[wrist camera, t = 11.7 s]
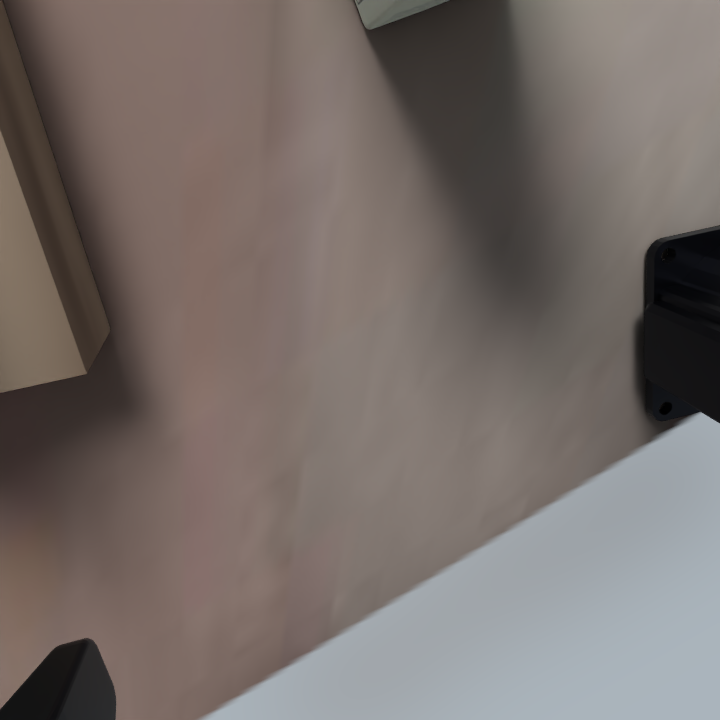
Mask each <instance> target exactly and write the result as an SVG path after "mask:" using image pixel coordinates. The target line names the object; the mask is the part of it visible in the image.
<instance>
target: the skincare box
mask: <svg viewBox="0 0 720 720" xmlns="http://www.w3.org/2000/svg"><path fill="white" fill-rule="evenodd" d="M446 1H449V0H355V3H356V5H357V8H358V10H359V13H360V16H361V19H362V22H363V24H364V26H365V27H366V28H367V29H374V28H377V27H380V26H382V25H385V24H388V23H391V22H394V21H396V20H399V19H402V18H405V17H407V16H410V15H413V14H415V13H418V12H421V11H423V10H426V9H429V8H431V7H434V6H436V5H439V4H441V3H444V2H446Z"/></svg>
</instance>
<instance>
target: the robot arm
mask: <svg viewBox="0 0 720 720" xmlns="http://www.w3.org/2000/svg"><path fill="white" fill-rule="evenodd" d="M665 249H668V254H667V256H666V258H665V259H664V260H662V258H661V256H662V253H663V252H664V250H665ZM644 376H645V377H646V410H647V412H648V414H649V415H651V416H652V417H654V418H655V419H657V420H659V421H666V420H670V419H674V418H678V417H682V416H686V415H690V414H694V413H697V412H702V413H704V414H705V415H707V416H709V417H710V418H712V419H714V420H715V421H717V422H719V423H720V225H719V226H715V227H710V228H705V229H701V230H696V231H692V232H687V233H682V234H678V235H673V236H669V237H664V238H660V239H658V240H656V241H655V242H653V243H652V244H651V246H650V247H649V249H648V253H647V299H646V309H645V312H644ZM664 402H665V404H664V406H663V407H662V408H661V409H660V410H659V408H660V406H661V404H662V403H664ZM115 719H116V695H115V690H114V686H113V683H112V680H111V678H110V676H109V673H108V671H107V669H106V666H105V664H104V661H103V659H102V657H101V654H100V652H99V649H98V647H97V645H96V644H95V642H94V641H93V640H91V639H88V638H84V639H81V640H77V641H73V642H69V643H66V644H62V645H59V646H57V647H56V648H54V649H53V650H52V651H51V652H50V653H49V655H48V656H47V657H46V658H45V659H44V660H43V661H42V663H41V664H40V665H39V666H38V667H37V668H36V669H35V671H34V672H33V673H32V674H31V675H30V676H29V677H28V679H27V680H26V681H25V682H24V683H23V684H22V685H21V686H20V688H19V689H18V690H17V691H16V692H15V693H14V694H13V696H12V697H11V698H10V699H9V700H8V701H7V702H6V704H5V705H4V706H3V707H2V708H1V709H0V720H115Z"/></svg>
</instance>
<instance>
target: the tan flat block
mask: <svg viewBox="0 0 720 720" xmlns="http://www.w3.org/2000/svg"><path fill="white" fill-rule="evenodd" d="M110 330H111V329H110V326H109V323H108V320H107V317H106V314H105V311H104V308H103V305H102V302H101V299H100V296H99V293H98V289H97V286H96V283H95V280H94V277H93V274H92V271H91V268H90V265H89V262H88V259H87V256H86V253H85V250H84V247H83V244H82V241H81V238H80V235H79V232H78V229H77V226H76V223H75V220H74V217H73V214H72V211H71V207H70V204H69V201H68V198H67V195H66V192H65V189H64V186H63V183H62V180H61V177H60V174H59V171H58V168H57V165H56V162H55V159H54V156H53V153H52V150H51V147H50V144H49V141H48V138H47V135H46V132H45V129H44V125H43V122H42V119H41V116H40V113H39V110H38V107H37V104H36V101H35V98H34V95H33V92H32V89H31V86H30V83H29V80H28V77H27V74H26V71H25V68H24V65H23V62H22V59H21V56H20V53H19V50H18V47H17V43H16V40H15V37H14V34H13V31H12V28H11V25H10V22H9V19H8V16H7V13H6V10H5V7H4V4H3V1H2V0H0V393H2V392H7V391H11V390H16V389H21V388H25V387H30V386H34V385H39V384H43V383H48V382H53V381H57V380H62V379H66V378H71V377H75V376H80V375H84V374H87V373H88V371H89V369H90V367H91V365H92V363H93V362H94V360H95V358H96V356H97V354H98V352H99V351H100V349H101V347H102V345H103V343H104V341H105V340H106V338H107V336H108V334H109V332H110Z"/></svg>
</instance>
